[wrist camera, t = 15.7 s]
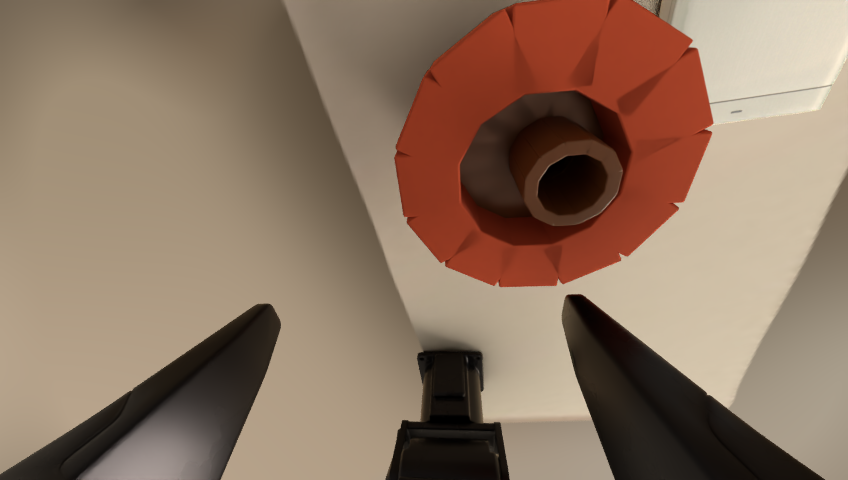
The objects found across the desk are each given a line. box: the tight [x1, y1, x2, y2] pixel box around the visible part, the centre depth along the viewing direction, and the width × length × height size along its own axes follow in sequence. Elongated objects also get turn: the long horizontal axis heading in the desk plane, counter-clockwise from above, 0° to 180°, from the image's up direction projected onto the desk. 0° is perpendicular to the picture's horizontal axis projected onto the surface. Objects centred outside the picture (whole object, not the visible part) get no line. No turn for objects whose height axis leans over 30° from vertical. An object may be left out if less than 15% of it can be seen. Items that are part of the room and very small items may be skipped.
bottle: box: [460, 90, 623, 226], centre depth 14 cm, size 8×8×10 cm
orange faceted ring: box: [394, 0, 714, 287], centre depth 11 cm, size 10×10×2 cm
